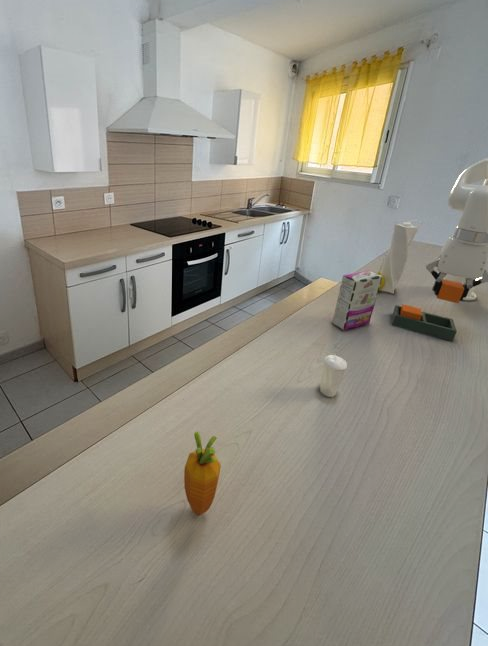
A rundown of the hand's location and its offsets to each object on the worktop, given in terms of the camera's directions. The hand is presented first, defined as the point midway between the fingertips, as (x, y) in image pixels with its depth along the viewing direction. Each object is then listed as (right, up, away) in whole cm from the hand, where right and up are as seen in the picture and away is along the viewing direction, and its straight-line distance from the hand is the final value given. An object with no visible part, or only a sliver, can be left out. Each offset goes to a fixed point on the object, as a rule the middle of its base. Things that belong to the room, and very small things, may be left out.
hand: (447, 295), depth 94 cm
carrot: (-74, -29, -46) cm, 92 cm away
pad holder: (-3, -10, +6) cm, 12 cm away
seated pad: (-6, -9, +8) cm, 13 cm away
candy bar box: (-25, -9, +6) cm, 28 cm away
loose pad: (0, -1, +1) cm, 1 cm away
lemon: (-5, -1, +29) cm, 29 cm away
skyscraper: (+1, 0, +31) cm, 31 cm away
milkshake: (-44, -20, -21) cm, 53 cm away
